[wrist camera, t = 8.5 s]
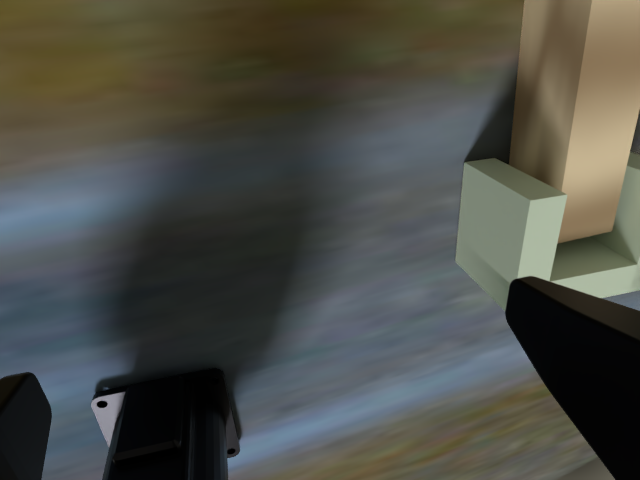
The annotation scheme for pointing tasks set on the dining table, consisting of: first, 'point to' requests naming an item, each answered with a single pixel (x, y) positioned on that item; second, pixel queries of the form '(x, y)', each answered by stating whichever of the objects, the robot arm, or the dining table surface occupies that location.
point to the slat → (578, 104)
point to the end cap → (542, 234)
